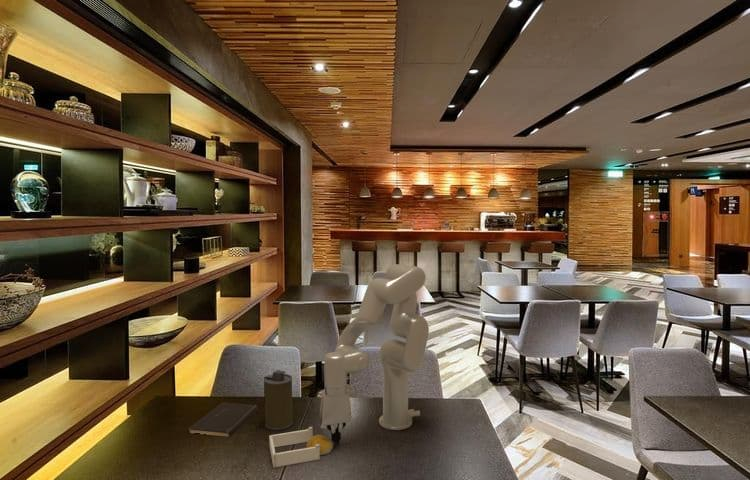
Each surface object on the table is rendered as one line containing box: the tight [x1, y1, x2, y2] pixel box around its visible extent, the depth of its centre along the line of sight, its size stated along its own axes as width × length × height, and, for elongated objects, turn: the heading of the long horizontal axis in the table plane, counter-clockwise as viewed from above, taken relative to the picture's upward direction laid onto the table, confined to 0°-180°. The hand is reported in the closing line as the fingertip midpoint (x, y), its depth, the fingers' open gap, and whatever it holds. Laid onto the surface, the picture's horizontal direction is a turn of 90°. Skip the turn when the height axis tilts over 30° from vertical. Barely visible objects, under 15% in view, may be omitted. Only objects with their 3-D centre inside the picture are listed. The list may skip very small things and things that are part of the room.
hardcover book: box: [188, 402, 259, 438], centre depth 168 cm, size 16×23×2 cm
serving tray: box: [268, 426, 321, 468], centre depth 145 cm, size 15×14×5 cm
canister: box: [263, 369, 294, 431], centre depth 165 cm, size 11×10×20 cm
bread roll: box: [305, 434, 334, 456], centre depth 147 cm, size 8×9×4 cm
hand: (336, 442), depth 149 cm, fingers closed
